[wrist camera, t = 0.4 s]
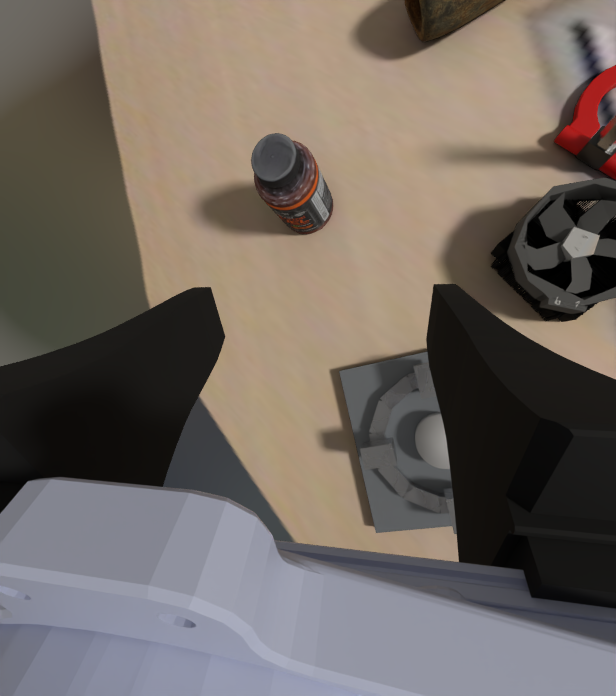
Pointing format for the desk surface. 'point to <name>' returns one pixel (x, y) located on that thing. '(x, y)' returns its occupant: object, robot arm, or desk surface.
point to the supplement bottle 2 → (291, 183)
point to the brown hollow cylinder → (444, 15)
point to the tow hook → (592, 127)
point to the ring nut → (384, 452)
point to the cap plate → (400, 442)
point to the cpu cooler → (564, 250)
